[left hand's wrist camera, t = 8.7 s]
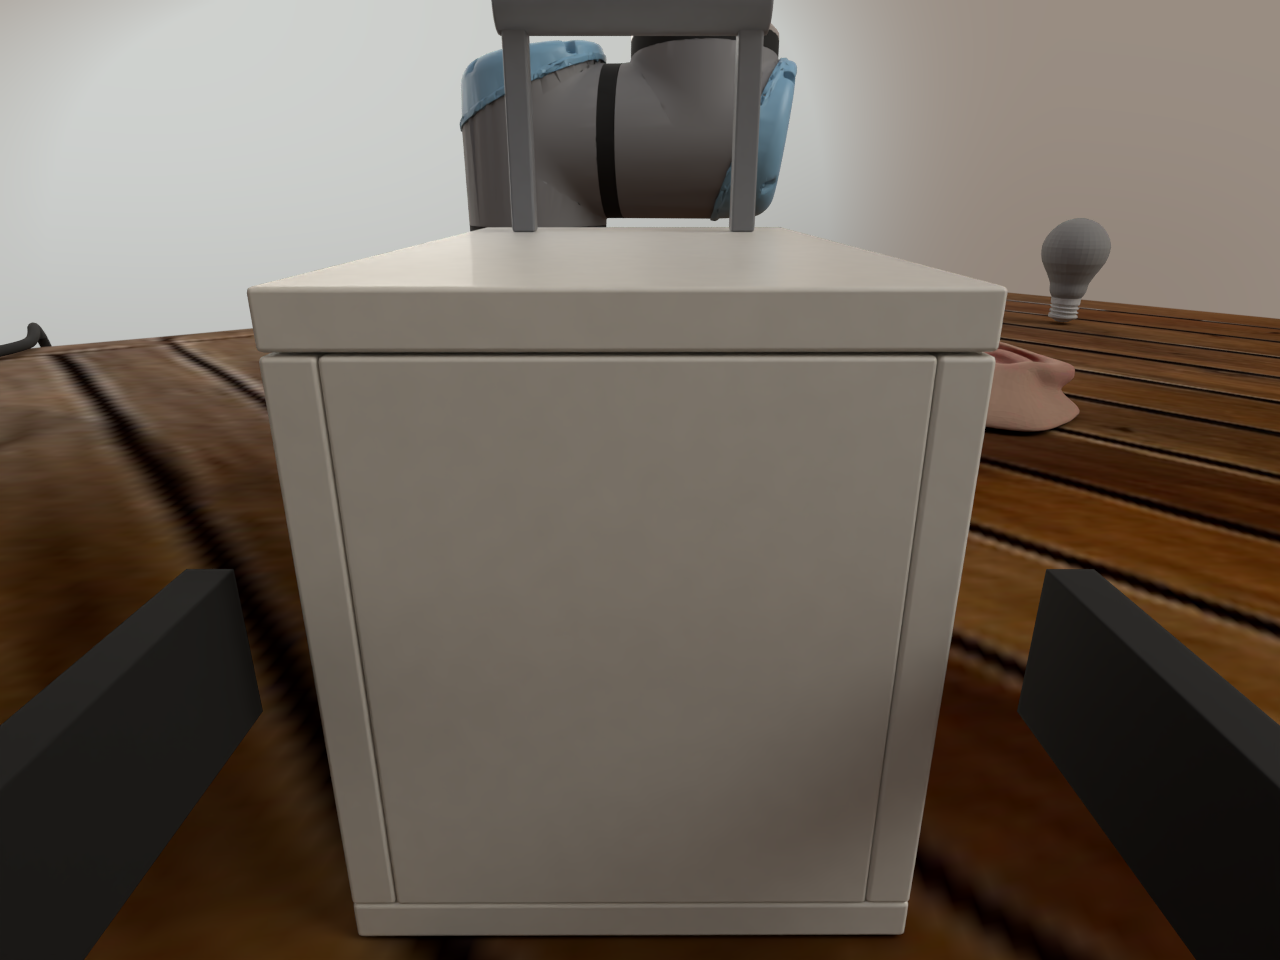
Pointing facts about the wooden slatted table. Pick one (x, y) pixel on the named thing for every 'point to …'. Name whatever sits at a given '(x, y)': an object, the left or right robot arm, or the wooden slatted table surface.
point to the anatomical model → (1028, 391)
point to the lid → (629, 252)
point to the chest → (628, 628)
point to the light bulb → (1073, 263)
